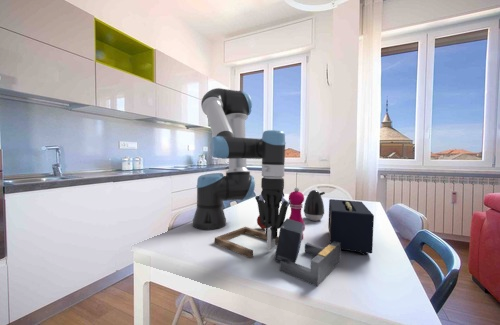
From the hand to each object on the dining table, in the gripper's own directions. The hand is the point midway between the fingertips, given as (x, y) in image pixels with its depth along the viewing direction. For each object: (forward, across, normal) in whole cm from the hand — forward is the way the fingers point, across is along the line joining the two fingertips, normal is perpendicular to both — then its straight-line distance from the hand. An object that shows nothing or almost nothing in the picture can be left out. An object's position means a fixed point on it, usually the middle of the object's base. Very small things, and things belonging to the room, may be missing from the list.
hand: (271, 247), depth 74 cm
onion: (+2, -15, +16) cm, 22 cm away
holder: (+2, -11, 0) cm, 11 cm away
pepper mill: (+2, 0, +17) cm, 17 cm away
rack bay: (+2, +15, 0) cm, 15 cm away
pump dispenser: (+2, -5, +46) cm, 46 cm away
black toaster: (+2, +17, +26) cm, 31 cm away
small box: (+2, +6, 0) cm, 6 cm away
